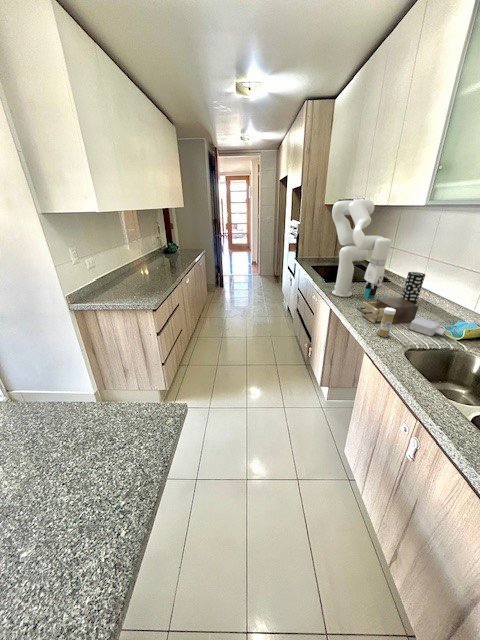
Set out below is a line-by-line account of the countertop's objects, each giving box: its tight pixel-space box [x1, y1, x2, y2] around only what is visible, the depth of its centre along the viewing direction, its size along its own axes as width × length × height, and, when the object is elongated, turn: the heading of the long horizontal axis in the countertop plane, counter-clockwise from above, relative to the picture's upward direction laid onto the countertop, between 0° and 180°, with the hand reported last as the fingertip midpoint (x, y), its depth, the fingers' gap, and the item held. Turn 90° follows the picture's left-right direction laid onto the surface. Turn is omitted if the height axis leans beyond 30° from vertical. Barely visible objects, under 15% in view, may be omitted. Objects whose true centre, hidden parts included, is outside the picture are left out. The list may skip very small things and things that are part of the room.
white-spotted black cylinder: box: [400, 271, 426, 305], centre depth 151 cm, size 8×8×20 cm
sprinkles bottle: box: [377, 307, 396, 338], centre depth 119 cm, size 5×5×14 cm
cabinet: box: [376, 297, 419, 325], centre depth 138 cm, size 15×13×9 cm
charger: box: [409, 316, 451, 337], centre depth 124 cm, size 5×9×15 cm
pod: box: [363, 288, 376, 300], centre depth 149 cm, size 4×4×5 cm
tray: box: [356, 301, 390, 324], centre depth 136 cm, size 18×11×7 cm, turn 99°
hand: (369, 293), depth 148 cm, fingers closed on pod, 4 cm apart
